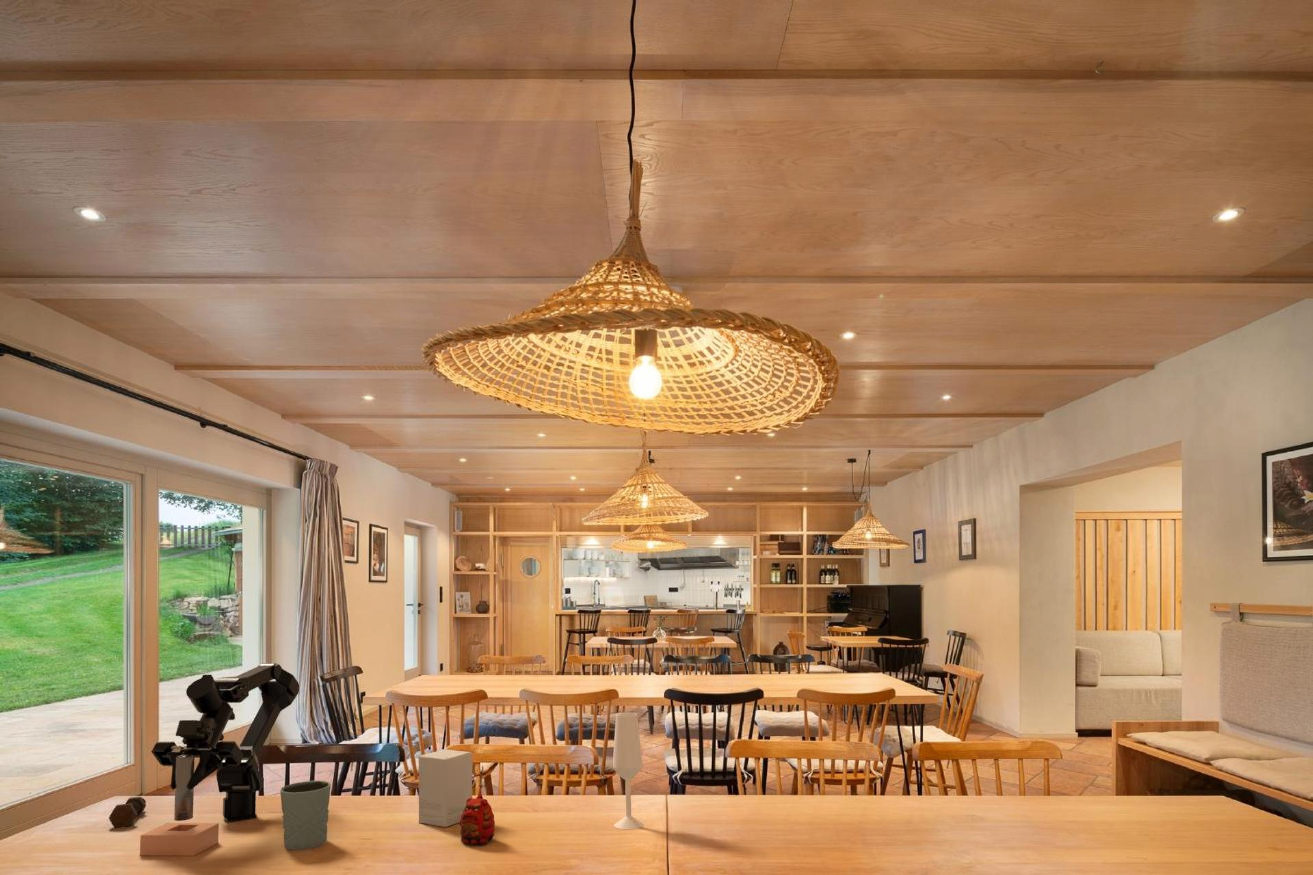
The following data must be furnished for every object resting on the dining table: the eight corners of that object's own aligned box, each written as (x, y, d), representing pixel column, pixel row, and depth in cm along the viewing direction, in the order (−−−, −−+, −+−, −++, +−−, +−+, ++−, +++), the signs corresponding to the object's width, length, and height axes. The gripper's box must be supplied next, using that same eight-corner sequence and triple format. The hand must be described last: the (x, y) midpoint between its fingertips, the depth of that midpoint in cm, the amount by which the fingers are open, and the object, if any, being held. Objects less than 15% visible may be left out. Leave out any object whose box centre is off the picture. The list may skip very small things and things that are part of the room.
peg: (184, 815, 207) (186, 753, 208) (196, 816, 205) (198, 754, 207) (170, 819, 203) (172, 757, 205) (182, 821, 202) (184, 758, 203)
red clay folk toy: (453, 844, 200) (453, 771, 202) (471, 835, 207) (470, 764, 209) (485, 847, 198) (484, 773, 199) (501, 838, 204) (501, 766, 206)
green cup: (339, 838, 207) (340, 781, 208) (308, 852, 197) (309, 793, 199) (301, 835, 210) (302, 779, 211) (268, 849, 200) (269, 790, 202)
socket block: (166, 841, 207) (166, 822, 208) (218, 842, 206) (218, 823, 207) (139, 855, 199) (140, 835, 199) (193, 855, 197) (194, 835, 198)
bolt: (141, 818, 234) (124, 833, 220) (122, 809, 234) (104, 824, 219) (155, 796, 236) (139, 809, 221) (136, 787, 235) (119, 799, 221)
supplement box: (473, 818, 220) (473, 751, 222) (445, 827, 213) (446, 759, 215) (445, 813, 225) (445, 748, 227) (417, 822, 218) (417, 755, 219)
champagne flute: (608, 827, 210) (606, 716, 213) (621, 819, 216) (619, 711, 219) (636, 830, 207) (634, 717, 210) (648, 821, 213) (646, 712, 216)
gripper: (158, 704, 212) (123, 767, 200) (237, 703, 210) (207, 767, 198) (178, 733, 219) (146, 796, 206) (255, 733, 217) (227, 796, 205)
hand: (180, 788), depth 204 cm, fingers closed on peg, 4 cm apart
